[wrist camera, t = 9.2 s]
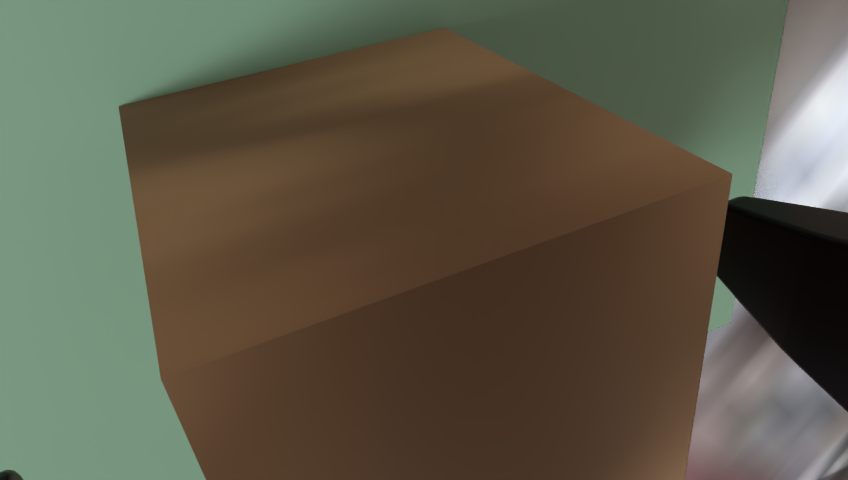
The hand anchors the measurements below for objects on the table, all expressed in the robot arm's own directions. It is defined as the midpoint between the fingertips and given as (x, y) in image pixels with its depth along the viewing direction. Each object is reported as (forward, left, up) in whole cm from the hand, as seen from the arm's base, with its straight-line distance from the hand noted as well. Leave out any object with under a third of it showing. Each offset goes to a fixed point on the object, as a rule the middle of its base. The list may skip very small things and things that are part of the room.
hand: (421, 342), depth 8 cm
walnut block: (0, 0, -4) cm, 4 cm away
